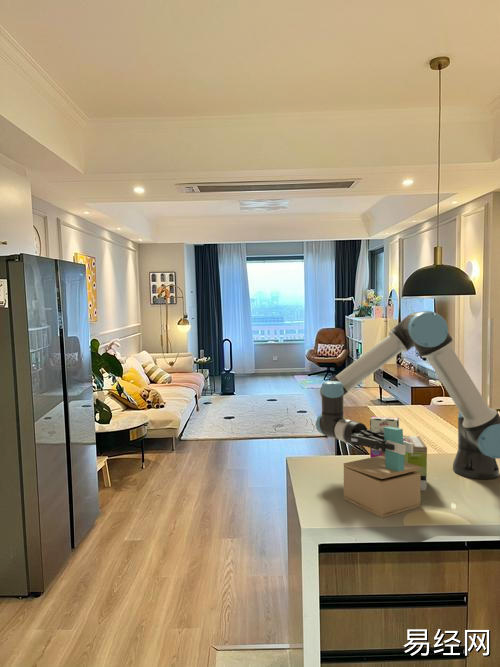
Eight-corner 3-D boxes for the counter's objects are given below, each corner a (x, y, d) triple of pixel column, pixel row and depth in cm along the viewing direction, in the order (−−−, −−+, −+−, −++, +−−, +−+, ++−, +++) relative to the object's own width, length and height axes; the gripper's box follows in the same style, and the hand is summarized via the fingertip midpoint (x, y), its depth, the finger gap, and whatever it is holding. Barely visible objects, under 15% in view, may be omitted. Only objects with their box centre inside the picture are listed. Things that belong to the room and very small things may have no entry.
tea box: (427, 491, 145) (427, 446, 145) (395, 489, 147) (395, 445, 147) (419, 476, 160) (419, 435, 160) (390, 474, 162) (390, 433, 162)
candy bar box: (399, 457, 182) (399, 417, 182) (398, 461, 177) (398, 420, 177) (371, 454, 186) (371, 415, 186) (369, 458, 182) (369, 418, 181)
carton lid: (343, 466, 140) (342, 424, 140) (380, 458, 148) (379, 419, 148) (381, 479, 126) (379, 432, 126) (420, 469, 134) (418, 426, 134)
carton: (343, 498, 140) (343, 466, 140) (380, 488, 148) (380, 458, 148) (381, 517, 126) (381, 482, 126) (420, 506, 134) (420, 473, 134)
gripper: (369, 440, 152) (426, 458, 131) (333, 446, 144) (389, 466, 124) (368, 418, 152) (426, 432, 131) (333, 423, 144) (388, 440, 124)
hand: (408, 449), depth 127 cm, fingers closed on carton lid, 2 cm apart
